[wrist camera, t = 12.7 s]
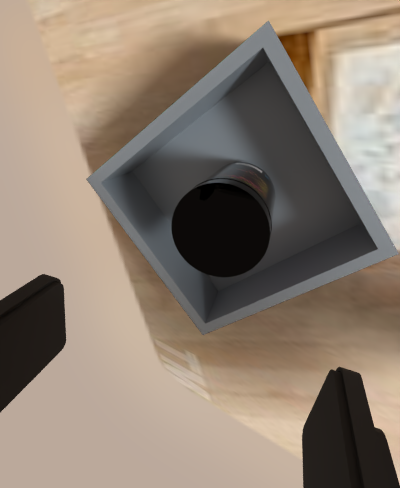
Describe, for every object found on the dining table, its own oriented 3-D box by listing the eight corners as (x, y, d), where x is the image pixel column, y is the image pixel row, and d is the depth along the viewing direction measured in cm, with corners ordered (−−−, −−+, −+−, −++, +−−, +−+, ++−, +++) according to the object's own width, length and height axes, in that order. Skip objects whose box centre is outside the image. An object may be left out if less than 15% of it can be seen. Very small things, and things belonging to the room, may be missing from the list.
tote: (374, 222, 28) (398, 253, 22) (217, 296, 36) (202, 335, 30) (273, 43, 25) (268, 20, 19) (124, 166, 33) (86, 179, 26)
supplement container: (202, 220, 32) (166, 264, 22) (212, 154, 29) (176, 172, 19) (267, 235, 30) (257, 288, 21) (284, 167, 28) (282, 194, 18)
